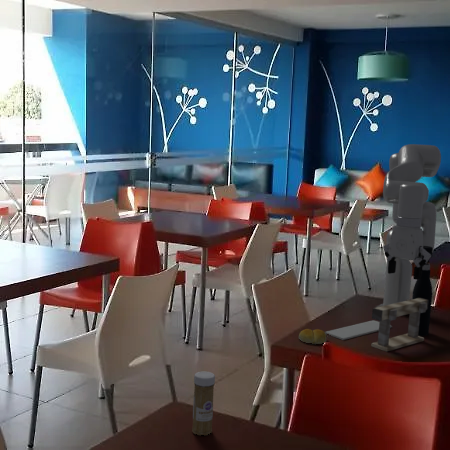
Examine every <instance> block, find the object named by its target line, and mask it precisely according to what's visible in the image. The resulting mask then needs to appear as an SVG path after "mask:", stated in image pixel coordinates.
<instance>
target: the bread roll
mask: <svg viewBox="0 0 450 450" xmlns="http://www.w3.org/2000/svg"><path fill="white" fill-rule="evenodd" d="M325 332H326V331H324V330H322V329H319V328H316V329H310V328H306V329H303V330H301V331H300V332H299V335H298V340H299V339H300V340H301V341H303V342H306V343H312V344H311V345H316V344H322V343H324V342H326V341H327V334H325ZM300 340H299V341H300ZM301 341H300V342H301ZM303 342H302V343H303ZM306 343H305V344H306ZM326 343H327V342H326ZM322 345H323V344H322Z"/></svg>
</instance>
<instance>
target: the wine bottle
mask: <svg viewBox="0 0 450 450" xmlns="http://www.w3.org/2000/svg"><path fill="white" fill-rule="evenodd" d="M423 249H425V250H426V251H427V252H428V253H429V254H431V257H430V258H433V253H432V251H433V252H434V250H433V247H429V246H423ZM421 259H422V260H423V259H424V255H422V258H421ZM414 283H415V284H414V286H413V289H412V298H411V299H417V298H423V299H427V300H429V302H428V309H427V310H426V312H423V313H420V321H419V331H418V336H420V337H426V336H429V334H430V322H431V312H432V300H433V286H432V281H431V265H430V259H429V260H428V263H426V264H425V265H424V266H423V267H422V276H421V279H416V281H415V282H414Z"/></svg>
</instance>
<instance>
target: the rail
mask: <svg viewBox="0 0 450 450" xmlns="http://www.w3.org/2000/svg"><path fill="white" fill-rule="evenodd" d="M411 299H412V298H411ZM423 302H424V303H426V310H427V309H428V302H429V300H427V299H423V298H417V299H412V300H408V301H403V302H399V303H394V304H390V305H385V306H381V307H376V306H375V307H373V308H372V312H371V319H372V320H373V319H374V320H375V321H378V322H380V321H382V320H386V319H389V312H390V310H393V309H395V310H397V316H396V318H398V317H401V316H406V315H410V313H414V312H418V311H419V305H420V303H423Z"/></svg>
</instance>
